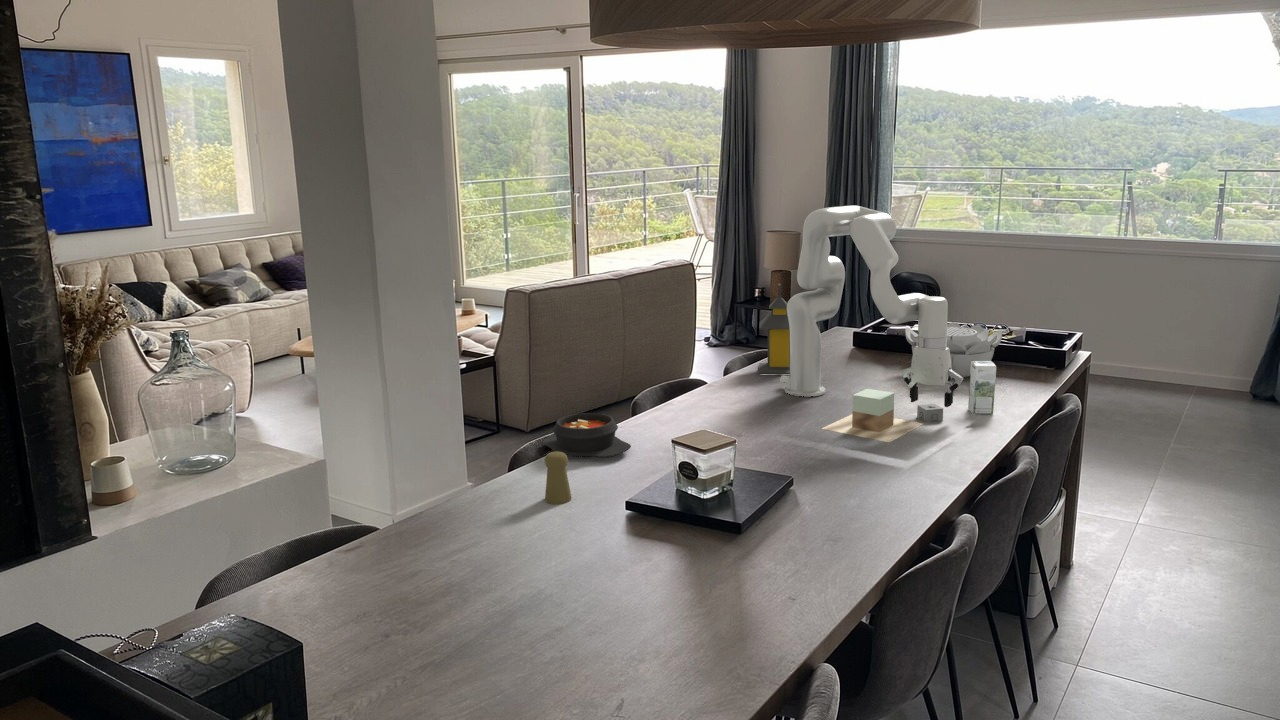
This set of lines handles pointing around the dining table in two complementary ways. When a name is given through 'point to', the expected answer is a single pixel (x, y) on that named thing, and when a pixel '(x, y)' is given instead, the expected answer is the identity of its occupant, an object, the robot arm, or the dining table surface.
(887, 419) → the walnut block
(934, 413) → the dice cube
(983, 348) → the decorative bowl
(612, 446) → the casserole
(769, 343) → the lantern
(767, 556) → the dining table surface
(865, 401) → the sage block
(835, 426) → the oak board
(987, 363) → the syrup box
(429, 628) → the dining table surface
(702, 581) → the dining table surface
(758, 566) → the dining table surface
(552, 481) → the olive peg figure
